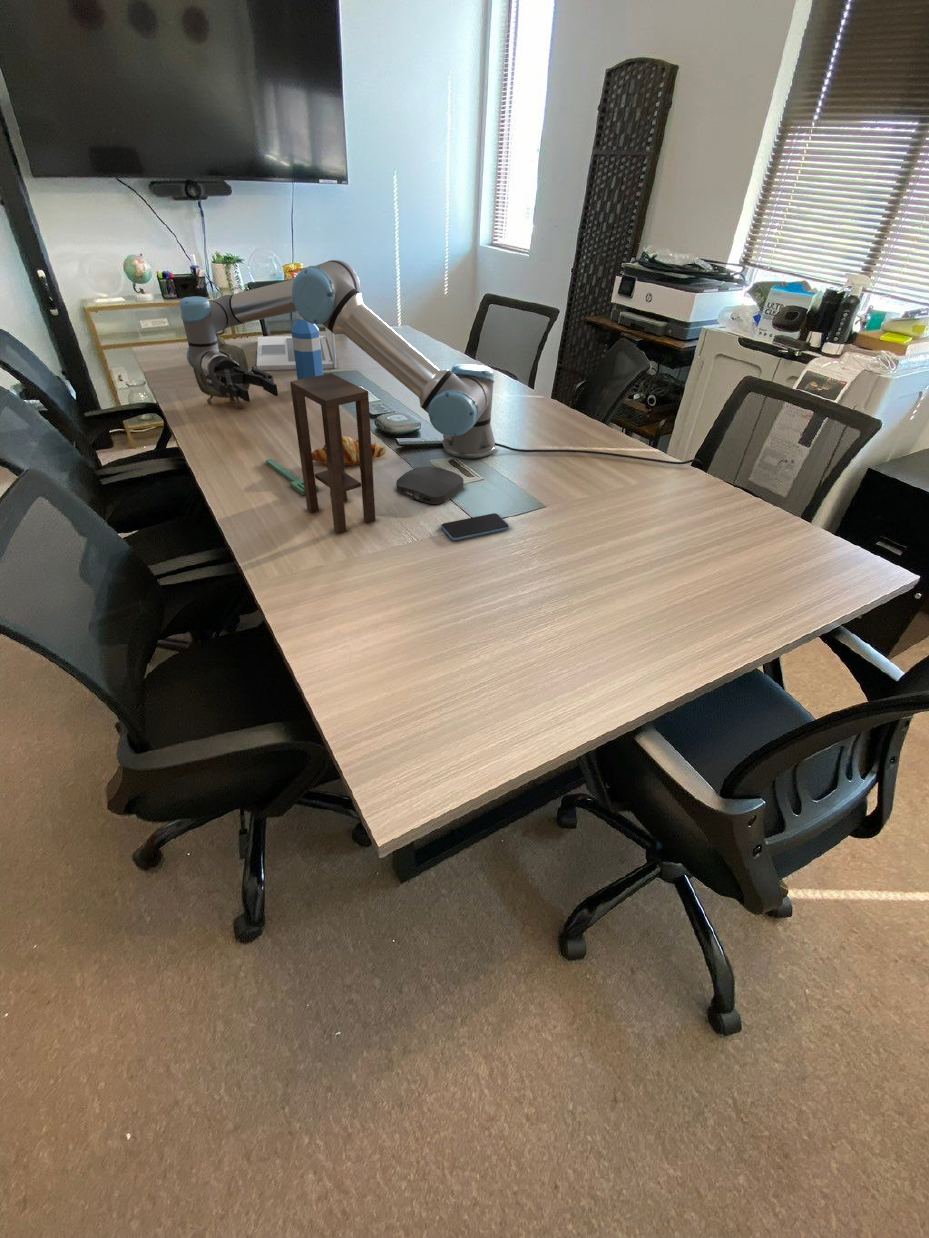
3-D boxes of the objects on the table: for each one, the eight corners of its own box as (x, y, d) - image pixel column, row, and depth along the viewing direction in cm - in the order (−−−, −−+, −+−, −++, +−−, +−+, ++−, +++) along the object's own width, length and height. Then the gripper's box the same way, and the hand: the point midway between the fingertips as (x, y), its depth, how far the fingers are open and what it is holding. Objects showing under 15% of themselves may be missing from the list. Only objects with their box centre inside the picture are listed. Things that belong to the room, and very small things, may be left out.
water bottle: (319, 396, 204) (311, 316, 188) (293, 393, 205) (283, 313, 189) (330, 388, 211) (322, 309, 195) (304, 385, 212) (295, 307, 197)
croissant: (383, 463, 173) (379, 434, 171) (392, 460, 164) (388, 430, 162) (309, 470, 166) (304, 441, 165) (313, 468, 157) (308, 436, 155)
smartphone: (511, 526, 140) (453, 538, 134) (510, 529, 140) (452, 542, 135) (496, 511, 145) (439, 523, 139) (495, 514, 145) (439, 526, 140)
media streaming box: (469, 486, 157) (469, 475, 155) (438, 508, 147) (439, 497, 145) (422, 471, 162) (422, 461, 160) (390, 492, 152) (389, 481, 150)
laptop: (258, 341, 252) (246, 266, 235) (329, 340, 258) (322, 266, 241) (257, 370, 222) (243, 287, 205) (337, 368, 229) (330, 287, 211)
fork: (261, 464, 161) (260, 460, 161) (276, 460, 164) (275, 456, 163) (302, 495, 149) (302, 491, 148) (318, 490, 151) (317, 486, 151)
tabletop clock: (201, 405, 193) (182, 320, 177) (217, 396, 200) (199, 314, 184) (242, 411, 191) (226, 325, 175) (257, 401, 198) (242, 319, 182)
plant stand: (307, 509, 144) (289, 381, 125) (343, 498, 149) (331, 373, 130) (339, 534, 136) (325, 400, 117) (375, 520, 141) (368, 391, 122)
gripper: (258, 377, 169) (299, 400, 156) (188, 391, 159) (226, 417, 146) (253, 349, 165) (295, 370, 152) (181, 361, 154) (220, 385, 141)
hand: (261, 393), depth 149 cm, fingers open, 7 cm apart
